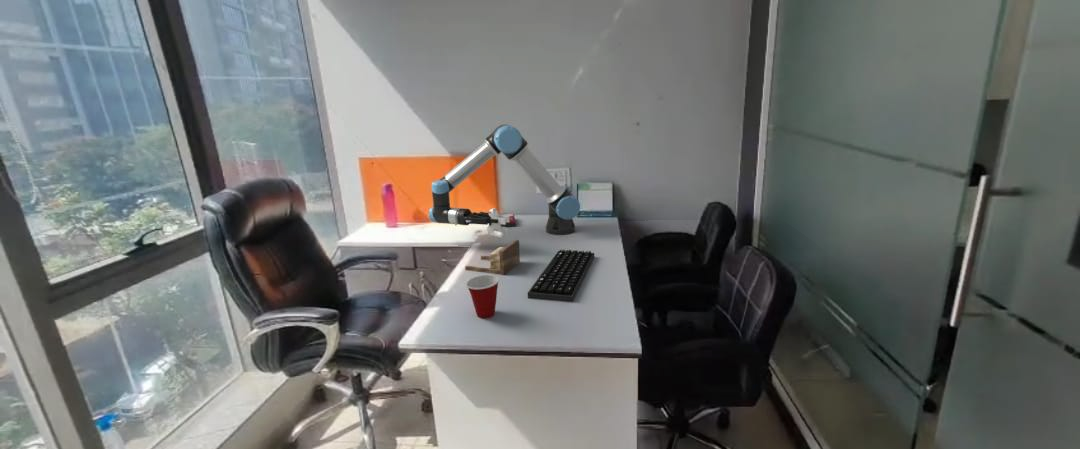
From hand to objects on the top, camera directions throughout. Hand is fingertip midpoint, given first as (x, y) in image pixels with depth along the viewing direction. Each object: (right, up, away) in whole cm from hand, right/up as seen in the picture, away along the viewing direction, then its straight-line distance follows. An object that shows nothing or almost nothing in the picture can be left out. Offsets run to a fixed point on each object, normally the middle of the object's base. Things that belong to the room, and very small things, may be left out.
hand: (507, 220), depth 198 cm
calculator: (-5, -2, +56) cm, 56 cm away
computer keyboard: (+24, -23, -20) cm, 38 cm away
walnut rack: (-6, -19, -7) cm, 21 cm away
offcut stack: (-2, -20, -9) cm, 22 cm away
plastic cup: (-4, -31, -49) cm, 59 cm away
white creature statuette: (-5, -6, +4) cm, 9 cm away
